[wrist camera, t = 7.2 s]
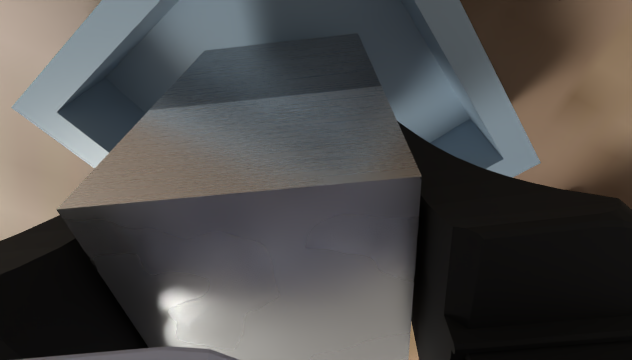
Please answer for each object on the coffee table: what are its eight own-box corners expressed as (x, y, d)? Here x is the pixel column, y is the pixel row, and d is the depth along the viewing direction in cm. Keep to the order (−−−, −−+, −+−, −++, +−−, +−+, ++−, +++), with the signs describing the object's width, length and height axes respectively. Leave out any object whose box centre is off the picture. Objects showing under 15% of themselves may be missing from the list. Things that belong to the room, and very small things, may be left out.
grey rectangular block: (357, 33, 12) (422, 176, 5) (362, 165, 15) (407, 373, 8) (204, 50, 12) (56, 209, 5) (239, 176, 15) (175, 387, 8)
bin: (495, 116, 16) (540, 162, 13) (281, 243, 21) (275, 301, 18) (322, -205, 10) (326, -266, 7) (77, 68, 15) (11, 107, 12)
